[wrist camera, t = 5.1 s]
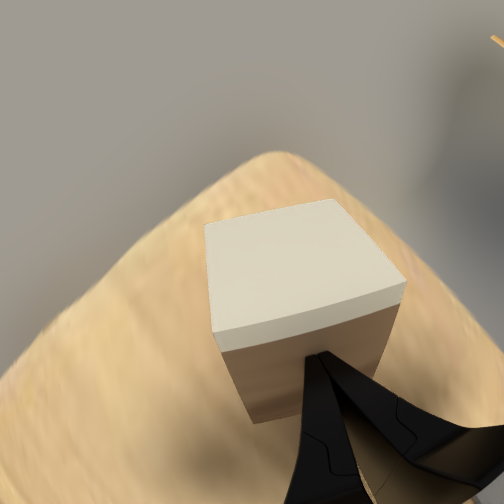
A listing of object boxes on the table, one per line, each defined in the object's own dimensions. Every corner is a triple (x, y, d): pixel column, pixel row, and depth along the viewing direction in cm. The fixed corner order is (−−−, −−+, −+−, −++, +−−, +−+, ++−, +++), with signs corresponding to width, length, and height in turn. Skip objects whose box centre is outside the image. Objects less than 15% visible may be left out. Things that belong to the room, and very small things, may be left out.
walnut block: (366, 391, 12) (406, 281, 8) (253, 424, 12) (212, 332, 7) (329, 312, 17) (333, 198, 13) (236, 335, 17) (204, 224, 12)
